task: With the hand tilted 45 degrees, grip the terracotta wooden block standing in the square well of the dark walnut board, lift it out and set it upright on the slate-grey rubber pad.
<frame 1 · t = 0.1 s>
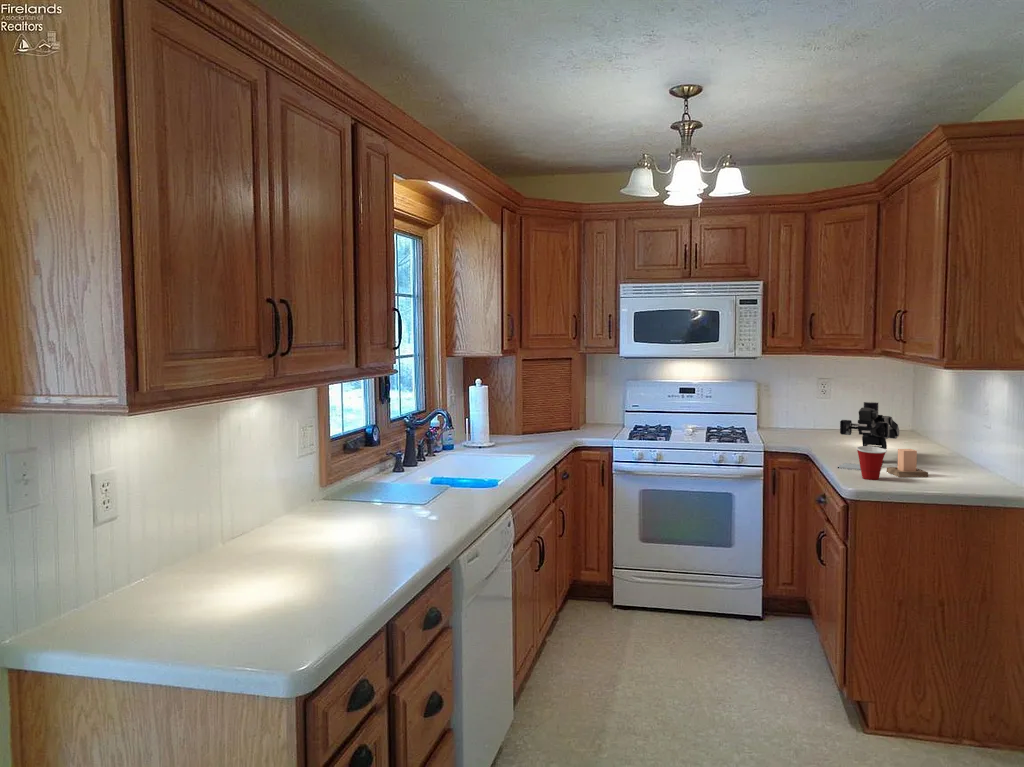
hand: (858, 430, 305), 17 cm above the worktop, tool horizontal, fingers open, 9 cm apart
plastic cup: (870, 479, 288), on the worktop
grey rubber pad: (854, 467, 312), on the worktop
terracotta block: (907, 462, 295), in the walnut well board
walnut well board: (906, 474, 295), on the worktop
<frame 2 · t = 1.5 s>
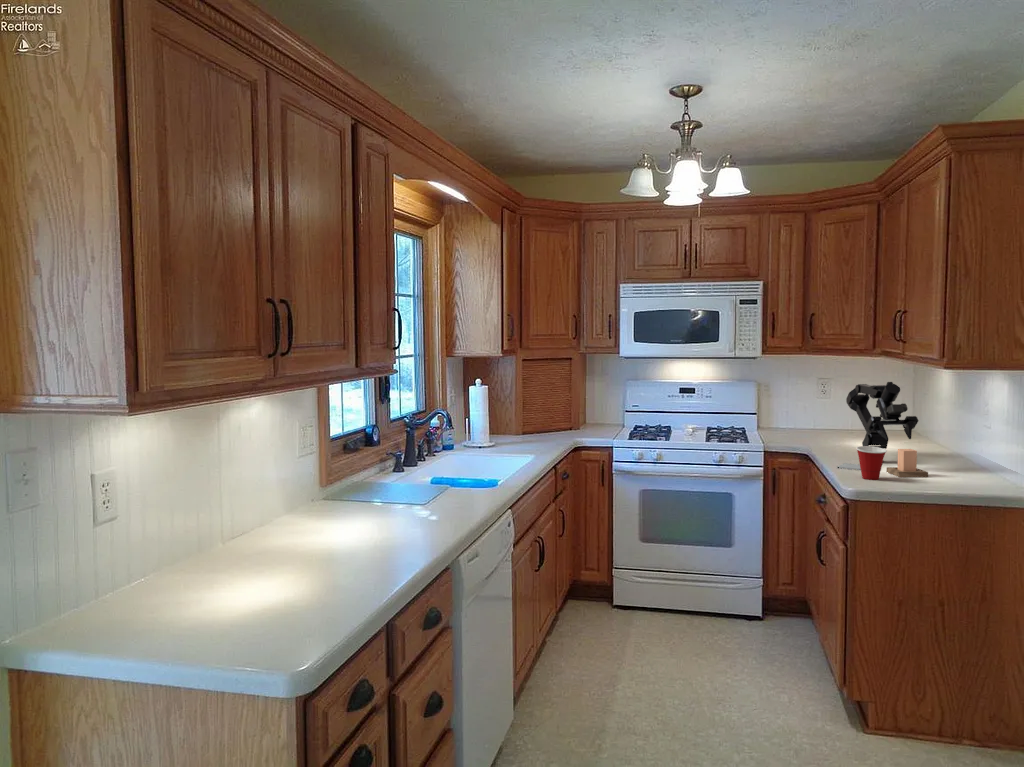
hand: (898, 438, 302), 13 cm above the worktop, tool tilted 45°, fingers open, 9 cm apart
nothing on the worktop moved.
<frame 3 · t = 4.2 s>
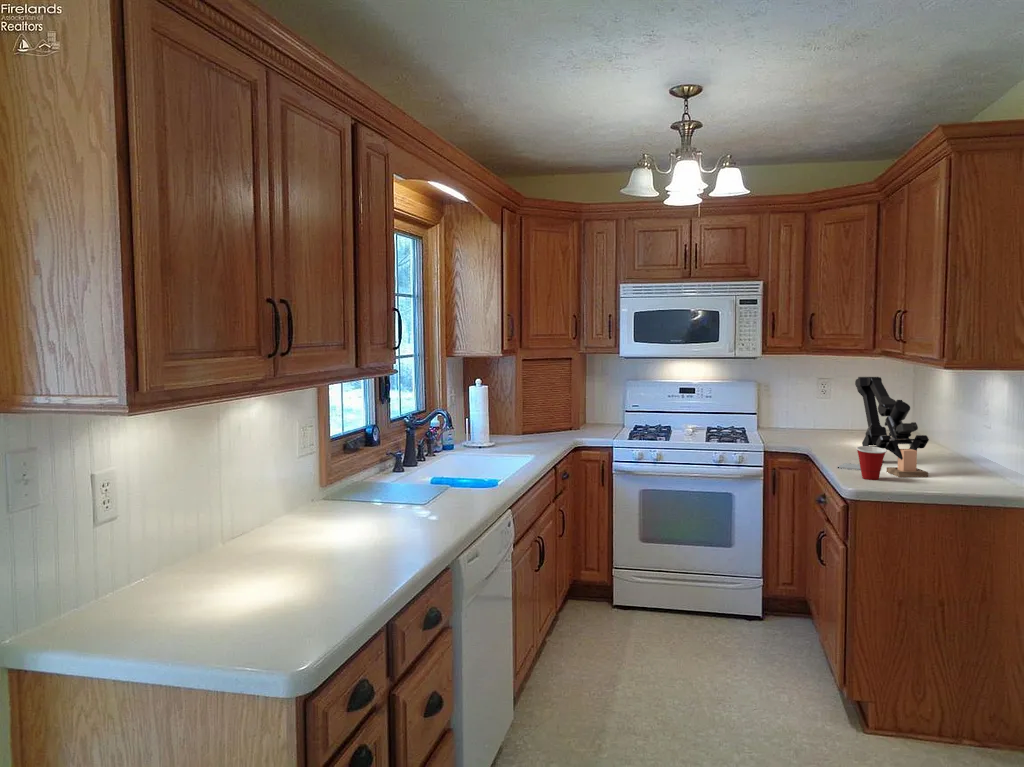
hand: (908, 458, 293), 7 cm above the worktop, tool tilted 45°, fingers closed on terracotta block, 5 cm apart
terracotta block: (907, 462, 295), in the walnut well board, touching gripper
everything else where it was.
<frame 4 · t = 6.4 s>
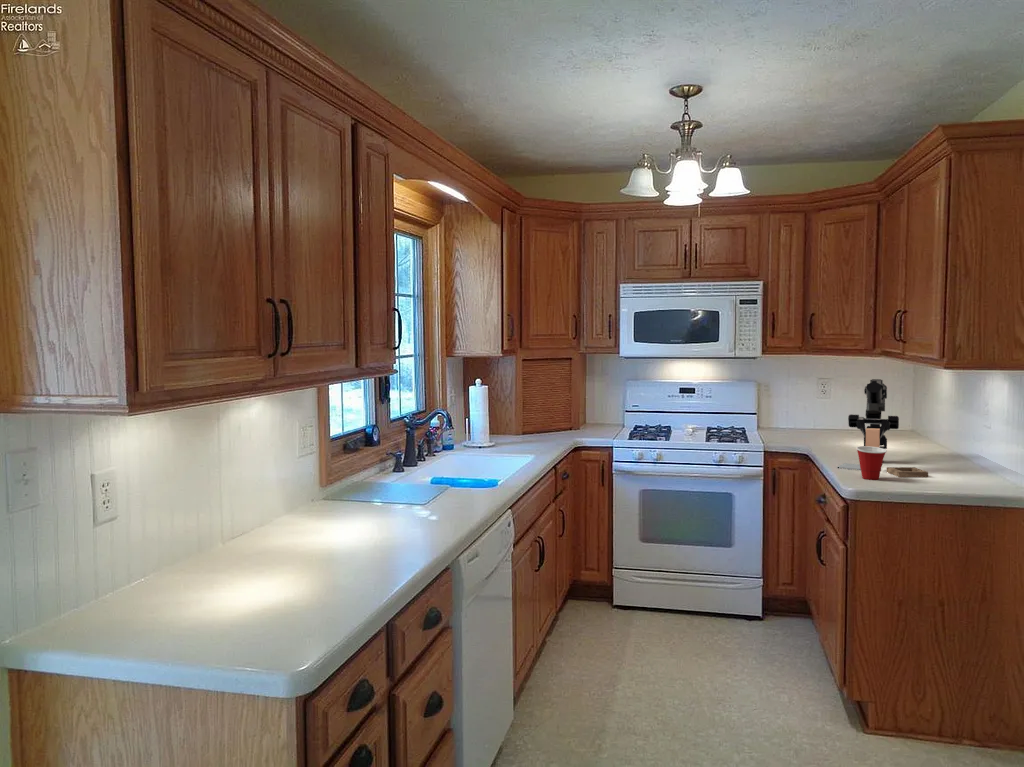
hand: (872, 437, 302), 14 cm above the worktop, tool tilted 45°, fingers closed on terracotta block, 5 cm apart
terracotta block: (872, 441, 303), point 12 cm above the worktop, touching gripper
everything else where it was.
when the fingers open (9 cm above the worktop, at t = 8.7 s): terracotta block drops 1 cm, resting on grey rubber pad.
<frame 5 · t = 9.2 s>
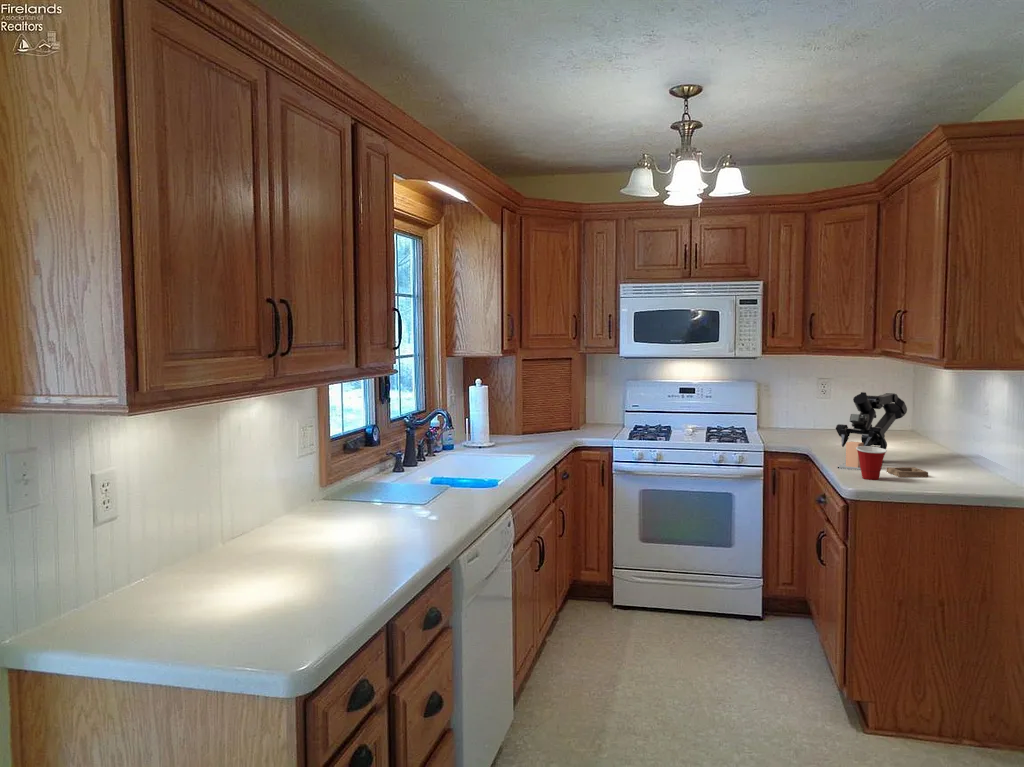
hand: (853, 447, 311), 9 cm above the worktop, tool tilted 45°, fingers open, 9 cm apart
terracotta block: (854, 454, 312), on the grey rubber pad, point 6 cm above the worktop
everything else where it was.
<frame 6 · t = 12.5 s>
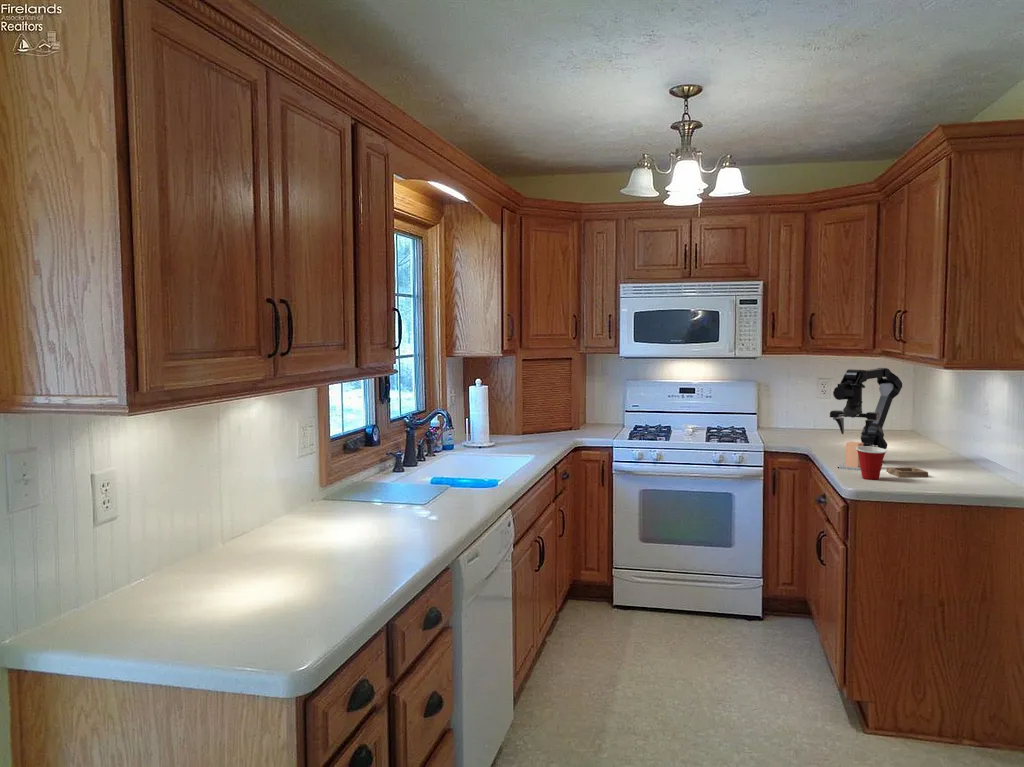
hand: (854, 435, 318), 13 cm above the worktop, tool pointing down, fingers open, 9 cm apart
nothing on the worktop moved.
at the end: terracotta block inside the target area on the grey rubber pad (0.0 cm from its centre), point 5.6 cm above the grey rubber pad's base; terracotta block tilted 0°; the gripper is holding nothing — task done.
